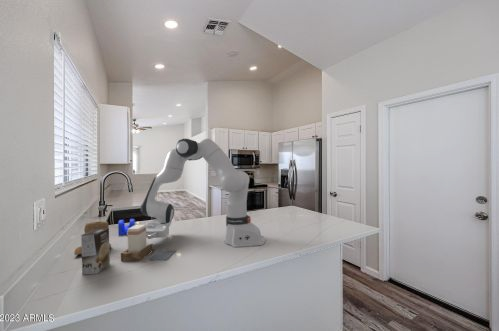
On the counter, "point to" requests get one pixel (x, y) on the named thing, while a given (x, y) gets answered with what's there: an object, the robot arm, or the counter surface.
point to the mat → (162, 255)
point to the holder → (136, 254)
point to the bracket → (122, 228)
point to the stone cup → (90, 227)
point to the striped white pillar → (137, 238)
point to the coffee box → (95, 251)
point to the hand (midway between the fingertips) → (139, 237)
